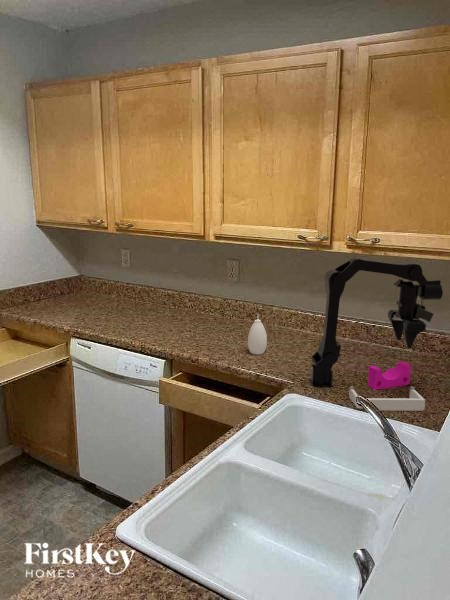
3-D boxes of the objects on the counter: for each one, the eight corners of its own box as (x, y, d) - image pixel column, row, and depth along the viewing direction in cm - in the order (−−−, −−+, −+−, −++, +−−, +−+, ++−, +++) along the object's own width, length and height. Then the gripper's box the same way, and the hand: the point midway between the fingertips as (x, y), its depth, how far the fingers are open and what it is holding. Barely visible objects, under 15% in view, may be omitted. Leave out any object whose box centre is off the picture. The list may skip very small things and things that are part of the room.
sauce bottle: (250, 351, 198) (251, 310, 194) (268, 354, 195) (269, 312, 192) (245, 357, 191) (245, 314, 187) (263, 359, 188) (264, 316, 185)
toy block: (397, 378, 170) (398, 359, 168) (409, 384, 164) (411, 364, 163) (363, 384, 165) (364, 363, 163) (374, 390, 159) (376, 369, 158)
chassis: (356, 410, 143) (357, 397, 142) (348, 398, 152) (349, 386, 151) (424, 410, 143) (425, 398, 143) (412, 398, 152) (413, 386, 152)
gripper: (444, 305, 148) (439, 352, 151) (420, 294, 166) (416, 336, 169) (409, 305, 148) (405, 352, 151) (389, 294, 166) (385, 336, 169)
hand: (403, 343), depth 160 cm, fingers open, 9 cm apart
